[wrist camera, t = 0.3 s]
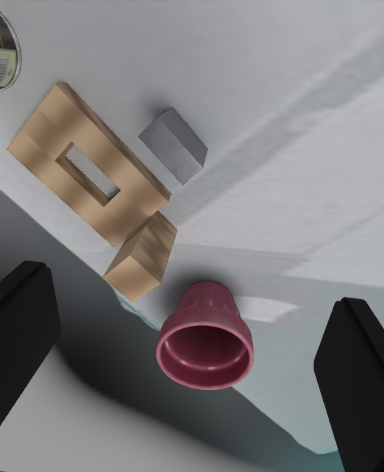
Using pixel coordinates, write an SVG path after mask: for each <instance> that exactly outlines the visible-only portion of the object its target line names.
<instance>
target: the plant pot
mask: <svg viewBox="0 0 384 472" xmlns="http://www.w3.org/2000/svg"><path fill="white" fill-rule="evenodd" d="M156 356H157V361H158V363H159V365H160V367H161V369H162V370H163V371H164V373H165V374H166V375H168V376H169V377H170V378H172V379H173V380H174V381H176V382H178V383H180V384H182V385H185V386H188V387H192V388H197V389H203V390H215V389H221V388H226V387H229V386H232V385H234V384H236V383H238V382H239V381H241V380H242V379H243V378H245V377H246V376H247V374H248V373H249V372H250V370H251V368H252V365H253V360H254V355H253V342H252V336H251V332H250V330H249V328H248V326H247V325H246V323H245V322H244V321H243V320H242V319H241V317H240V314H239V311H238V308H237V306H236V304H235V301H234V299H233V296H232V294H231V292H230V291H229V290H228V289H227V288H226V287H225V286H223V285H222V284H219V283H217V282H213V281H201V282H197V283H195V284H193V285H191V286H190V287H189V288H188V289H187V290H186V291H185V293H184V295H183V297H182V299H181V301H180V303H179V304H178V306H177V308H176V310H175V312H174V313H173V314H172V315H170V316H169V317H168V318H167V320H166V321H165V322H164V324H163V326H162V328H161V331H160V335H159V340H158V344H157V351H156Z"/></svg>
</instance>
